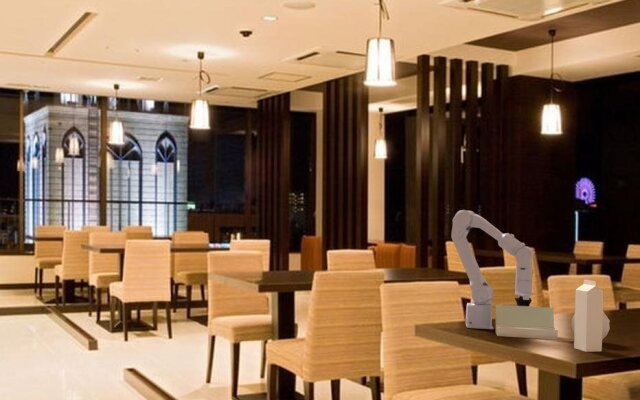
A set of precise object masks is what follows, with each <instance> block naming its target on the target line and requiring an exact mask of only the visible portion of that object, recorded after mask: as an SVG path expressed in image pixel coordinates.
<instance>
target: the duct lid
mask: <svg viewBox="0 0 640 400" xmlns="http://www.w3.org/2000/svg"><path fill="white" fill-rule="evenodd" d="M554 312H555V311H554V307H545V306H530V305H529V306H517V305H510V304H509V305H506V304H505V305H504V304H495V325H496V324H501V325H518V326H536V327H554V328H555V319H554V318H555V316H554V315H555V314H554Z"/></svg>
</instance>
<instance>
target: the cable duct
mask: <svg viewBox="0 0 640 400" xmlns="http://www.w3.org/2000/svg"><path fill="white" fill-rule="evenodd" d="M558 332H559V331H558V329H555V326H554V327H536V326H518V325H501V324H496V323H495V335H497V336H498V337H508V338H509V337H510V338H525V339H526V338H529V339H545V340H546V339H547V340H558V337H559V333H558Z"/></svg>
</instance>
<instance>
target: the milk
mask: <svg viewBox="0 0 640 400" xmlns="http://www.w3.org/2000/svg"><path fill="white" fill-rule="evenodd" d="M574 302H575V304H574V305H575V307H574V309H575V310H574V314H575V333H574V332H573V334H574V335H573V336H574V337H573V338H574V339H573V349H574V350H575V349H576V350H579V351H582V352H586V353H588V352H591V353H593V352H602V350H603V339H602V324H603V311H604V291H603V290H602V289H601V288H599V287H598V286H597V282H596V280H591V279H590V280H589V279H583V284H581V285H580V286H578V287H577V288H576V289H575V301H574Z"/></svg>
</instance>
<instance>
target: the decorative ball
mask: <svg viewBox="0 0 640 400" xmlns="http://www.w3.org/2000/svg"><path fill="white" fill-rule="evenodd" d="M610 322H611V321H610V319H609V318H608V316H607V315H606V314H605V311H604V310H603V324H602V340H603V339H605V337H606V336H607V335H608V333H609V331H610ZM570 324H571V329H572V332H573V334H574V333H575V313H574V314H573V316H572V318H571V322H570Z"/></svg>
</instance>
